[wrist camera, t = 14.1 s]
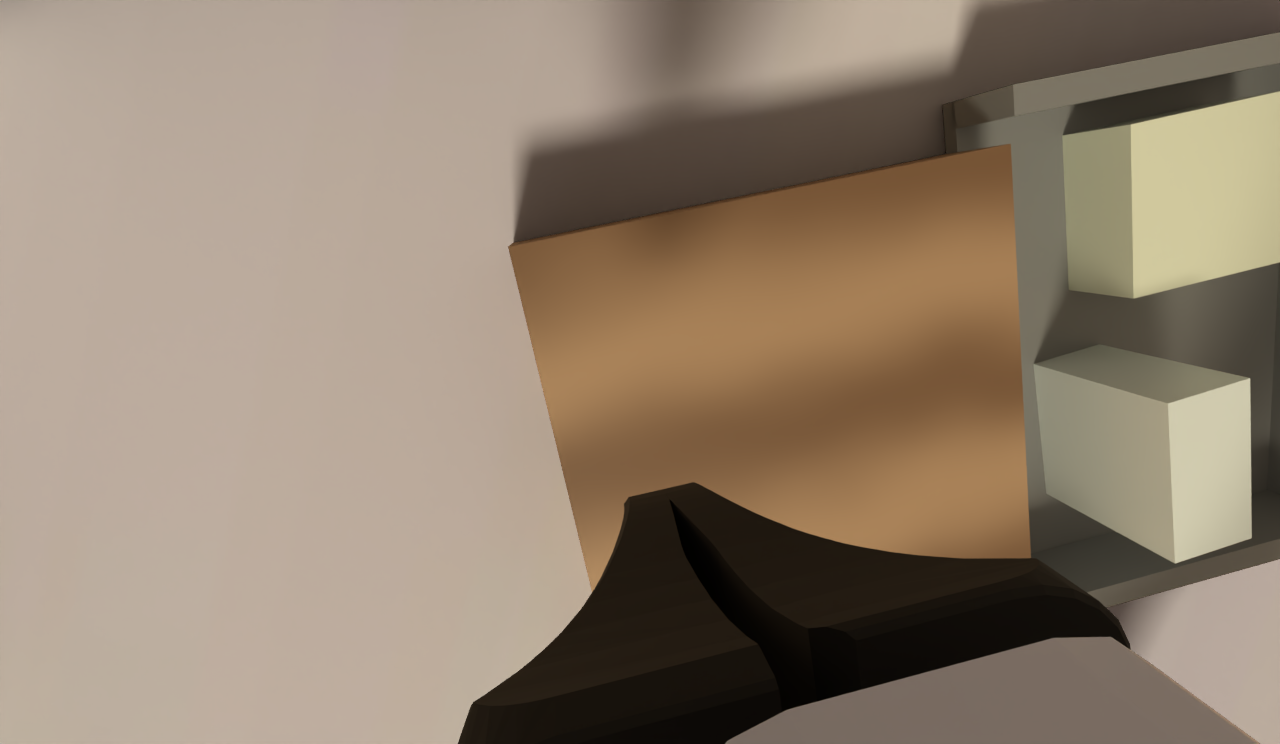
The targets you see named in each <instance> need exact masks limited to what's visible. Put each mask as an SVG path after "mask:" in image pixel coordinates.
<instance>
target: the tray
mask: <svg viewBox="0 0 1280 744" xmlns="http://www.w3.org/2000/svg"><path fill="white" fill-rule="evenodd" d="M1277 91H1280V32H1278V33H1273V34H1268V35H1263V36H1258V37H1253V38H1248V39H1242V40H1237V41H1232V42H1227V43H1222V44H1217V45H1212V46H1207V47H1202V48H1197V49H1192V50H1186V51H1181V52H1176V53H1171V54H1166V55H1161V56H1156V57H1151V58H1146V59H1141V60H1136V61H1130V62H1125V63H1120V64H1115V65H1110V66H1105V67H1100V68H1095V69H1090V70H1085V71H1080V72H1074V73H1069V74H1064V75H1059V76H1054V77H1049V78H1044V79H1039V80H1034V81H1029V82H1023V83H1018V84H1013V85H1010V86H1006V87H1003V88H999V89H996V90H992V91H989V92H985V93H982V94H978V95H975V96H971V97H968V98H965V99H961V100H958V101H954V102H951V103H947V104H944V105H943V118H944V132H945V146H946V154H950V153H956V152H962V151H968V150H974V149H981V148H987V147H993V146H999V145H1005V144H1011V158H1012V178H1013V199H1014V219H1015V240H1016V260H1017V281H1018V301H1019V322H1020V342H1021V363H1022V384H1023V404H1024V425H1025V445H1026V466H1027V486H1028V507H1029V527H1030V548H1031V558H1036V559H1038V560H1040V561H1041V562H1043V563H1044V564H1046V565H1047V566H1049V567H1050V568H1052V569H1053V570H1055V571H1056V572H1058V573H1059V574H1061V575H1062V576H1064V577H1065V578H1066V579H1068V580H1069V581H1071V582H1072V583H1074V584H1075V585H1077V586H1078V587H1080V588H1081V589H1082V590H1084V591H1085V592H1087V593H1088V594H1090V595H1091V596H1093V597H1094V598H1096V599H1097V600H1099V601H1100V602H1101V603H1102V604H1103V605H1104V606H1105V607H1106V608H1107V607H1111V606H1114V605H1118V604H1122V603H1125V602H1129V601H1132V600H1136V599H1139V598H1143V597H1146V596H1150V595H1154V594H1157V593H1161V592H1164V591H1168V590H1171V589H1175V588H1178V587H1182V586H1186V585H1189V584H1193V583H1196V582H1200V581H1203V580H1207V579H1210V578H1214V577H1218V576H1221V575H1225V574H1228V573H1232V572H1235V571H1239V570H1242V569H1246V568H1250V567H1253V566H1257V565H1260V564H1264V563H1267V562H1271V561H1274V560H1278V559H1280V262H1279V263H1275V264H1271V265H1267V266H1263V267H1259V268H1255V269H1251V270H1247V271H1243V272H1239V273H1235V274H1231V275H1227V276H1223V277H1219V278H1214V279H1210V280H1206V281H1202V282H1198V283H1194V284H1190V285H1186V286H1182V287H1178V288H1174V289H1170V290H1166V291H1162V292H1158V293H1154V294H1150V295H1146V296H1142V297H1138V298H1134V299H1133V298H1125V297H1118V296H1110V295H1103V294H1095V293H1088V292H1080V291H1073V290H1069V284H1068V260H1067V236H1066V212H1065V188H1064V164H1063V140H1062V136H1063V135H1067V134H1072V133H1076V132H1081V131H1085V130H1090V129H1094V128H1099V127H1103V126H1108V125H1112V124H1117V123H1121V122H1126V121H1131V120H1135V119H1140V118H1144V117H1149V116H1153V115H1158V114H1162V113H1167V112H1171V111H1176V110H1180V109H1185V108H1189V107H1194V106H1198V105H1203V104H1208V103H1214V102H1220V101H1226V100H1231V99H1237V98H1243V97H1249V96H1254V95H1260V94H1266V93H1271V92H1277ZM1099 344H1100V345H1105V346H1109V347H1114V348H1118V349H1123V350H1127V351H1132V352H1136V353H1140V354H1145V355H1149V356H1154V357H1158V358H1163V359H1167V360H1172V361H1176V362H1181V363H1185V364H1190V365H1194V366H1198V367H1203V368H1207V369H1212V370H1216V371H1221V372H1225V373H1230V374H1234V375H1239V376H1243V377H1248V378H1250V406H1251V515H1252V538H1251V539H1248V540H1245V541H1242V542H1239V543H1236V544H1233V545H1230V546H1227V547H1224V548H1221V549H1218V550H1215V551H1212V552H1209V553H1206V554H1203V555H1199V556H1196V557H1193V558H1190V559H1187V560H1184V561H1181V562H1178V563H1173V562H1171V561H1169V560H1167V559H1166V558H1164V557H1162V556H1160V555H1158V554H1156V553H1155V552H1153V551H1151V550H1149V549H1147V548H1145V547H1144V546H1142V545H1140V544H1138V543H1136V542H1134V541H1132V540H1131V539H1129V538H1127V537H1125V536H1123V535H1121V534H1120V533H1118V532H1116V531H1114V530H1112V529H1110V528H1109V527H1107V526H1105V525H1103V524H1101V523H1099V522H1098V521H1096V520H1094V519H1092V518H1090V517H1088V516H1087V515H1085V514H1083V513H1081V512H1079V511H1077V510H1076V509H1074V508H1072V507H1070V506H1068V505H1066V504H1065V503H1063V502H1061V501H1059V500H1057V499H1055V498H1053V497H1052V496H1050V495H1048V494H1046V486H1045V475H1044V465H1043V455H1042V445H1041V435H1040V425H1039V415H1038V405H1037V395H1036V385H1035V375H1034V364H1035V363H1039V362H1042V361H1045V360H1049V359H1052V358H1055V357H1059V356H1062V355H1065V354H1069V353H1072V352H1075V351H1079V350H1082V349H1085V348H1089V347H1092V346H1095V345H1099Z"/></svg>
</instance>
